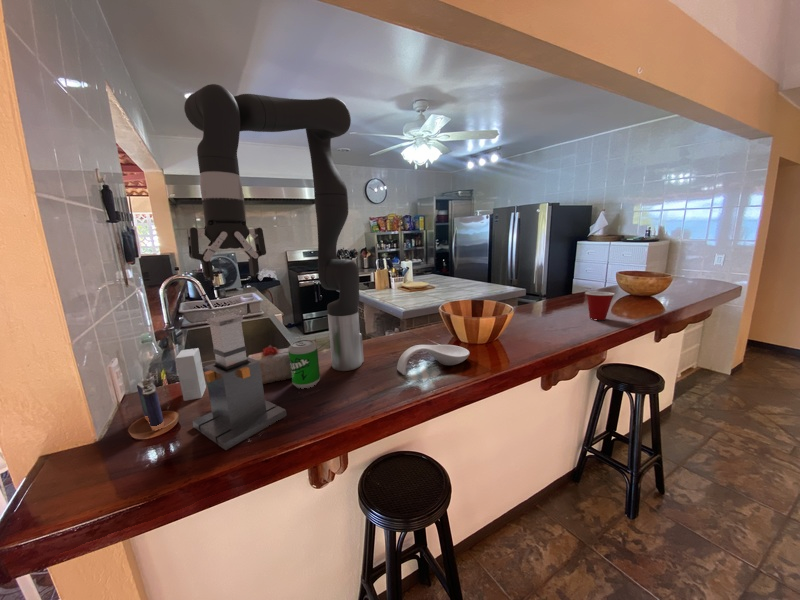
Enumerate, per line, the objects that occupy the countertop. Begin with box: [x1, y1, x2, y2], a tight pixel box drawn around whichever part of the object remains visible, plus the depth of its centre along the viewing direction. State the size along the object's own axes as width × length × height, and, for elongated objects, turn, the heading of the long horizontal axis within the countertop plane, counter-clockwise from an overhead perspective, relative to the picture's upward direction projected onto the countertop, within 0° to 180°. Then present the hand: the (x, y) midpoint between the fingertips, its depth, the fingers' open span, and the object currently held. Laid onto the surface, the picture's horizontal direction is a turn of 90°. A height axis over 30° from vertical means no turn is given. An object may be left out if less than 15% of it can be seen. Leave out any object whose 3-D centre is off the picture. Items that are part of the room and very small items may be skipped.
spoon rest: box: [396, 344, 470, 376], centre depth 98 cm, size 24×12×7 cm, turn 116°
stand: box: [192, 356, 287, 451], centre depth 71 cm, size 14×14×14 cm
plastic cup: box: [585, 291, 616, 321], centre depth 139 cm, size 11×11×12 cm
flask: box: [136, 377, 164, 427], centre depth 72 cm, size 9×3×11 cm, turn 48°
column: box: [206, 312, 248, 372], centre depth 70 cm, size 5×5×24 cm
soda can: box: [287, 339, 321, 390], centre depth 88 cm, size 8×8×12 cm
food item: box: [247, 344, 292, 385], centre depth 92 cm, size 14×8×10 cm, turn 114°
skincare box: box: [174, 347, 207, 402], centre depth 84 cm, size 6×4×12 cm
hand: (233, 277), depth 68 cm, fingers open, 8 cm apart
